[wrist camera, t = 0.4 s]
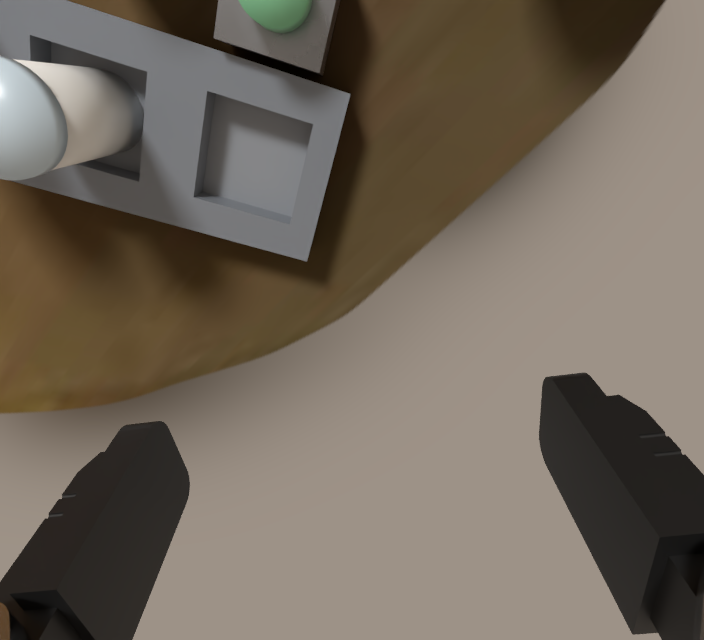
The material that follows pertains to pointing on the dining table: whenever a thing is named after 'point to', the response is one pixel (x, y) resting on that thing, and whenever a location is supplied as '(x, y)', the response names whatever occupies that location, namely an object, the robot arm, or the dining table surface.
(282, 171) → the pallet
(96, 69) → the white jar
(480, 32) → the dining table surface
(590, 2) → the dining table surface
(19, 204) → the dining table surface
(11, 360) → the dining table surface
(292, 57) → the button box
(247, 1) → the button
